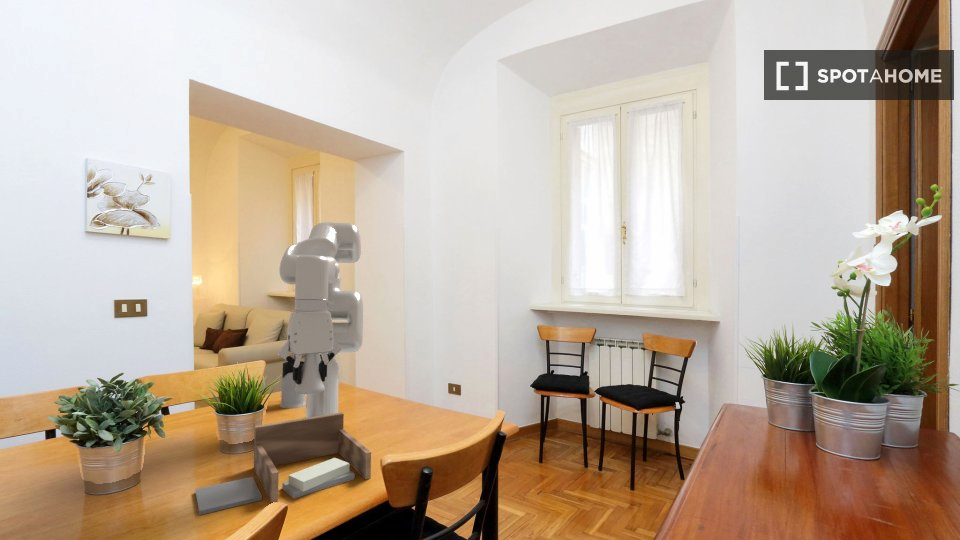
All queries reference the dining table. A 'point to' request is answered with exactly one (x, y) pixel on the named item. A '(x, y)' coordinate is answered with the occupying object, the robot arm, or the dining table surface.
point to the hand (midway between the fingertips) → (309, 381)
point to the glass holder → (290, 388)
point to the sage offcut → (318, 474)
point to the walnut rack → (304, 447)
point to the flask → (310, 377)
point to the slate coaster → (227, 495)
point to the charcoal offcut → (297, 493)
